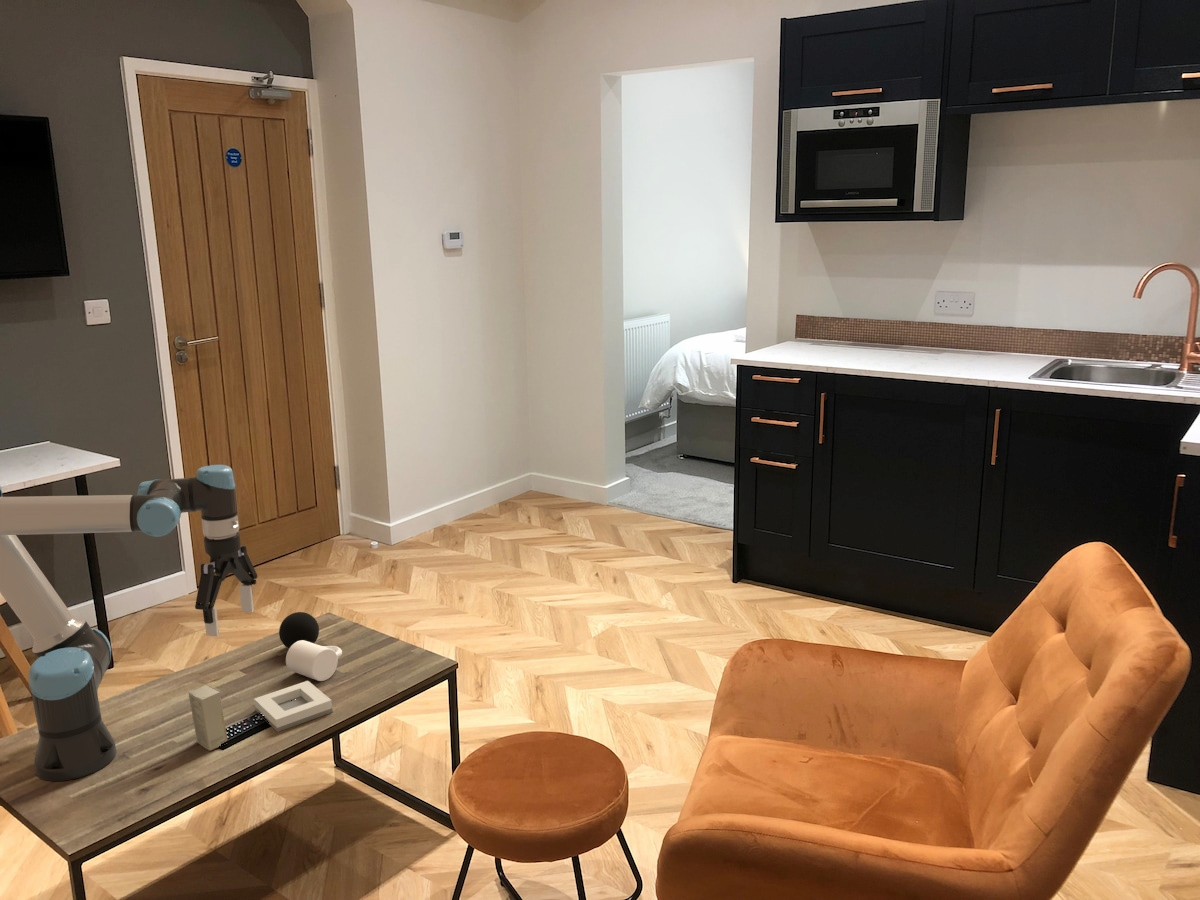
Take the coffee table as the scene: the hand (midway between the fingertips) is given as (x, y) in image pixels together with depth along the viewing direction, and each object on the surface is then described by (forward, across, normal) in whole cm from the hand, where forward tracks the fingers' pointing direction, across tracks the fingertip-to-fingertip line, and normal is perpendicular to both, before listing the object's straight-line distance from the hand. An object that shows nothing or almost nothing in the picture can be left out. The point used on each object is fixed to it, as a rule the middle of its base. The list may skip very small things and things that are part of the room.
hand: (230, 623), depth 221 cm
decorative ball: (+21, +31, +2) cm, 37 cm away
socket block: (+21, 0, -14) cm, 25 cm away
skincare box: (+21, -16, -3) cm, 26 cm away
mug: (+21, +20, -10) cm, 30 cm away
